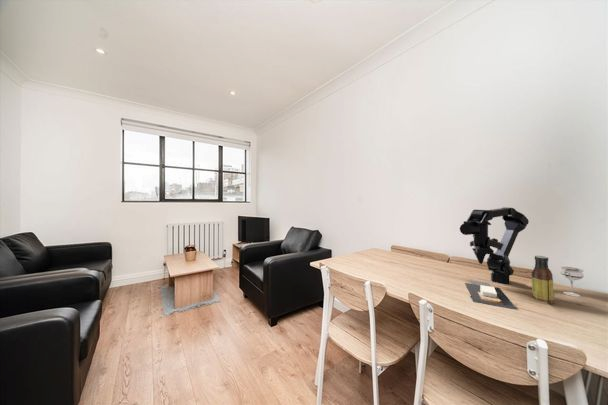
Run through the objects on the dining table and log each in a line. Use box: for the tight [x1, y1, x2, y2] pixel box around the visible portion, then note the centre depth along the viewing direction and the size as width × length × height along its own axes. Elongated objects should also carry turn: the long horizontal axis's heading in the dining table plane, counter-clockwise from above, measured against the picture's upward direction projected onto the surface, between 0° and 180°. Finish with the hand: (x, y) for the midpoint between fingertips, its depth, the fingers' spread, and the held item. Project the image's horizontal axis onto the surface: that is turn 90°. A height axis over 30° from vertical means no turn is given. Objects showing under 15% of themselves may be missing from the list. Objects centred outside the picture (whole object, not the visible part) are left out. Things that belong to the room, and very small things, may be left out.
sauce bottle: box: [531, 255, 555, 305], centre depth 93 cm, size 6×6×20 cm
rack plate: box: [464, 282, 517, 310], centre depth 99 cm, size 14×20×1 cm
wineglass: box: [559, 266, 584, 297], centre depth 98 cm, size 7×7×12 cm
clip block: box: [479, 285, 498, 299], centre depth 97 cm, size 5×5×3 cm
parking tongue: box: [469, 279, 491, 287], centre depth 110 cm, size 8×5×1 cm, turn 61°
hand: (480, 263), depth 108 cm, fingers closed
